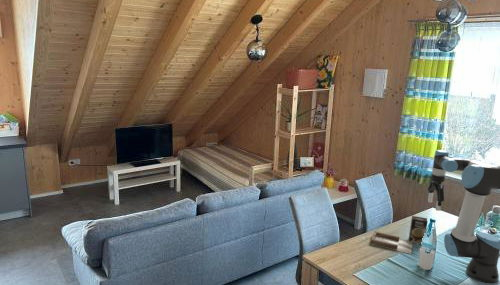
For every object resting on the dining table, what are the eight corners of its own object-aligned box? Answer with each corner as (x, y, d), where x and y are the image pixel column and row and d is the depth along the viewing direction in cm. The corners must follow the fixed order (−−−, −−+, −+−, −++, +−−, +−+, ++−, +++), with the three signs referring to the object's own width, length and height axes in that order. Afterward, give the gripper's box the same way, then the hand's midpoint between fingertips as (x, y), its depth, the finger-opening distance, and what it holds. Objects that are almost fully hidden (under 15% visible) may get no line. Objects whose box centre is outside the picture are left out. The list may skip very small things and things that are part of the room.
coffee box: (408, 242, 236) (411, 219, 233) (408, 238, 242) (411, 215, 238) (424, 245, 233) (427, 221, 229) (423, 241, 239) (427, 217, 235)
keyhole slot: (410, 254, 221) (411, 249, 220) (370, 244, 231) (370, 240, 230) (412, 243, 235) (413, 239, 234) (374, 234, 245) (374, 230, 245)
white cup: (435, 270, 205) (438, 253, 203) (423, 271, 204) (425, 254, 201) (427, 262, 212) (429, 246, 210) (414, 263, 211) (416, 247, 209)
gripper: (453, 181, 220) (448, 214, 224) (437, 169, 244) (432, 199, 249) (440, 180, 221) (435, 213, 225) (425, 168, 245) (421, 198, 249)
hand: (433, 206), depth 237 cm, fingers open, 13 cm apart
